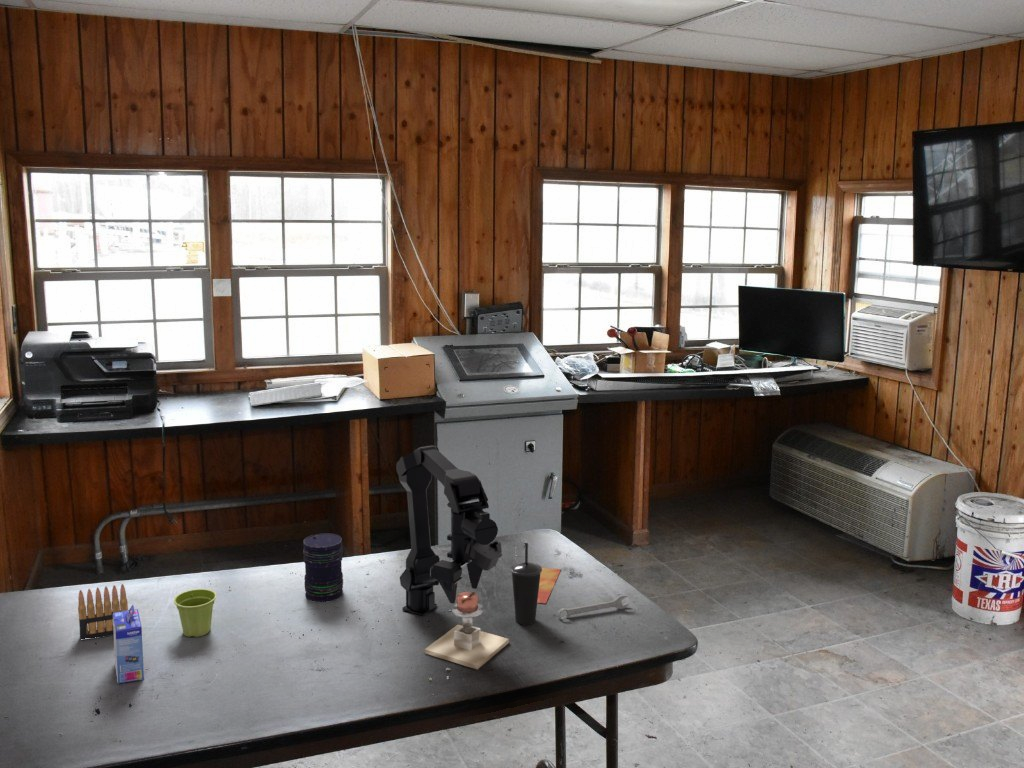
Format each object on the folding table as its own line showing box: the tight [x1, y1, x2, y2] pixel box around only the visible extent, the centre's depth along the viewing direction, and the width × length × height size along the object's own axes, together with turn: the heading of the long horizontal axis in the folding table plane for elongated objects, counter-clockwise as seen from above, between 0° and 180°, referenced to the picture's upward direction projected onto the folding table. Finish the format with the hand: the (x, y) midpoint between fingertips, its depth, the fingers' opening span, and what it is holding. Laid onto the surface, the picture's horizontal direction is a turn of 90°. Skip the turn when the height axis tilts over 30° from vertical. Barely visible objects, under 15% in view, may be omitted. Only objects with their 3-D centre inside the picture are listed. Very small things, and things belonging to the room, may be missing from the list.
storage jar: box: [302, 532, 344, 603], centre depth 227 cm, size 10×10×15 cm
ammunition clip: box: [77, 583, 129, 641], centre depth 204 cm, size 11×2×12 cm, turn 114°
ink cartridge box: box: [113, 604, 145, 684], centre depth 188 cm, size 10×6×14 cm, turn 27°
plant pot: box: [173, 588, 217, 638], centre depth 207 cm, size 9×9×9 cm
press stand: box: [424, 624, 510, 671], centre depth 202 cm, size 14×14×4 cm
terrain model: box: [537, 567, 561, 604], centre depth 239 cm, size 25×22×1 cm
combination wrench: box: [557, 594, 630, 621], centre depth 220 cm, size 4×1×20 cm
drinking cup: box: [510, 542, 543, 626], centre depth 214 cm, size 8×8×20 cm
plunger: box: [451, 591, 484, 628], centre depth 200 cm, size 7×7×7 cm
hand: (463, 595), depth 200 cm, fingers open, 9 cm apart
